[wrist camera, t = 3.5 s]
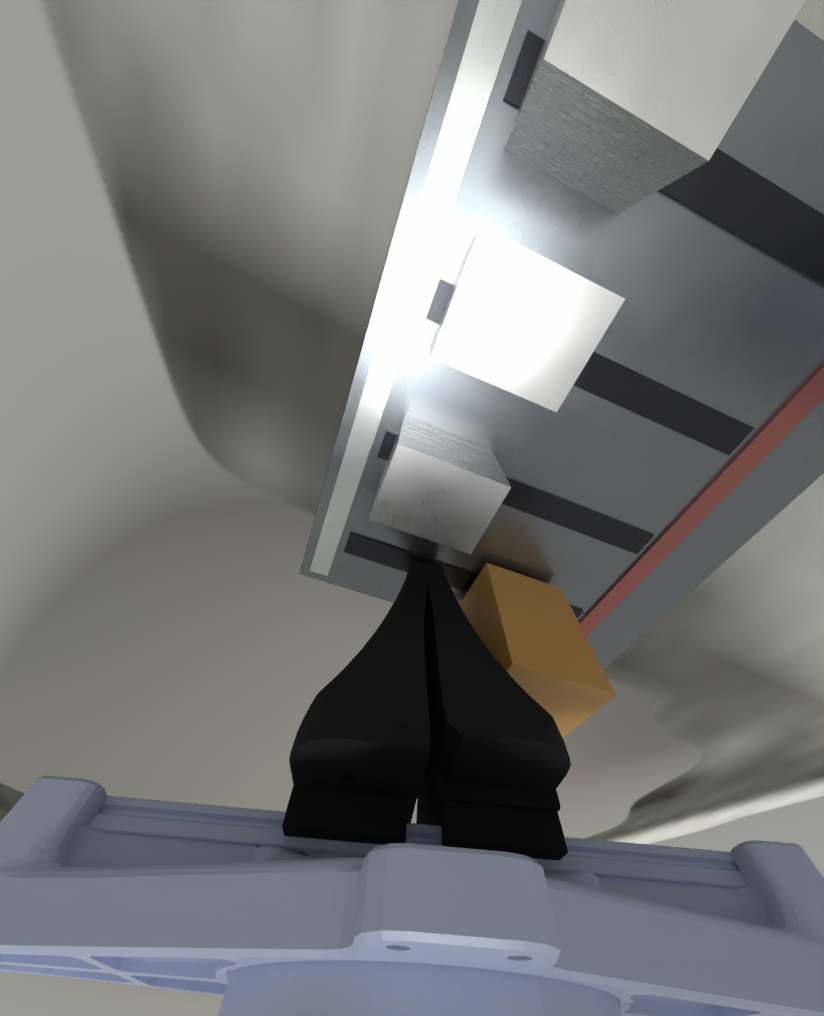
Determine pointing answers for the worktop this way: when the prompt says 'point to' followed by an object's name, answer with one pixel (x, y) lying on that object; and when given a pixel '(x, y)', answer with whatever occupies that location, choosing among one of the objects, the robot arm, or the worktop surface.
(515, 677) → the toggle
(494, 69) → the breaker panel
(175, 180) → the worktop surface
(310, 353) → the worktop surface
